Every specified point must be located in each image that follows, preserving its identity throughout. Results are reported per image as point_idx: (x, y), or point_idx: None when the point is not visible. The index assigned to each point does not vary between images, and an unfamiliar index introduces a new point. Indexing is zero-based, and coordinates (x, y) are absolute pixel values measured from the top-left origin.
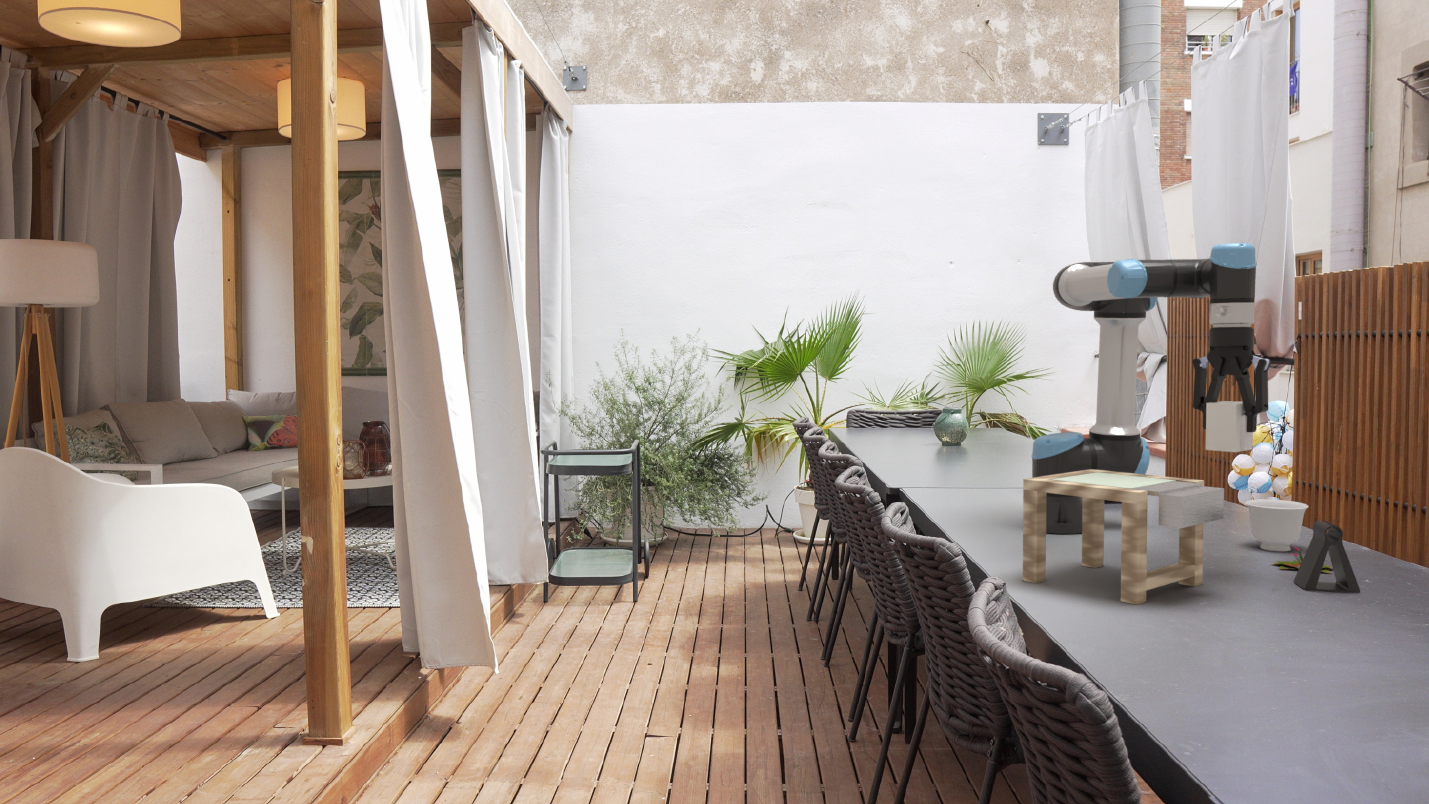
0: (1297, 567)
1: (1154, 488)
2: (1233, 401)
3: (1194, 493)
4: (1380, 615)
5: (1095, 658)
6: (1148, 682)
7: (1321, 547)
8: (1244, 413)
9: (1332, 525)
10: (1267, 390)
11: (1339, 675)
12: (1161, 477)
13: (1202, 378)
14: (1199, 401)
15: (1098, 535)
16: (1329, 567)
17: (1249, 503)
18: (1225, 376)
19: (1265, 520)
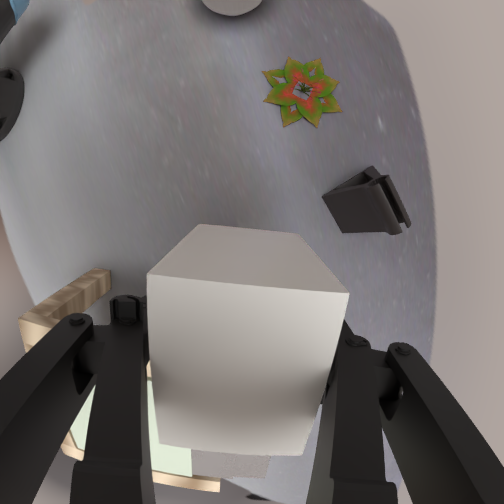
0: (302, 110)
1: (212, 464)
2: (214, 289)
3: (267, 456)
4: (413, 292)
5: (267, 490)
6: (302, 496)
7: (377, 229)
8: (322, 403)
9: (401, 213)
10: (455, 409)
11: (384, 443)
12: (148, 366)
13: (31, 466)
14: (90, 390)
15: (92, 297)
16: (330, 80)
17: None
18: (141, 488)
19: (226, 3)
